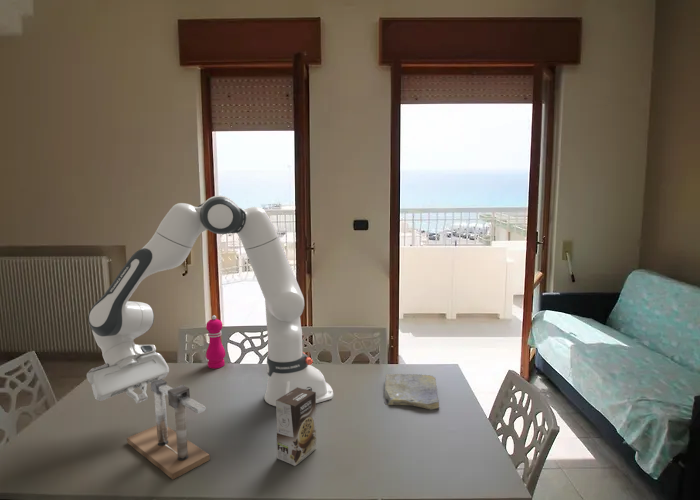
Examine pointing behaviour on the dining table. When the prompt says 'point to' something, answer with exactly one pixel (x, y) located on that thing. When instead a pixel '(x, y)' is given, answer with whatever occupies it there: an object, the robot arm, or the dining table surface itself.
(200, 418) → the dining table surface
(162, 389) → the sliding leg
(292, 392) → the coffee box
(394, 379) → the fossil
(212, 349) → the pepper mill
